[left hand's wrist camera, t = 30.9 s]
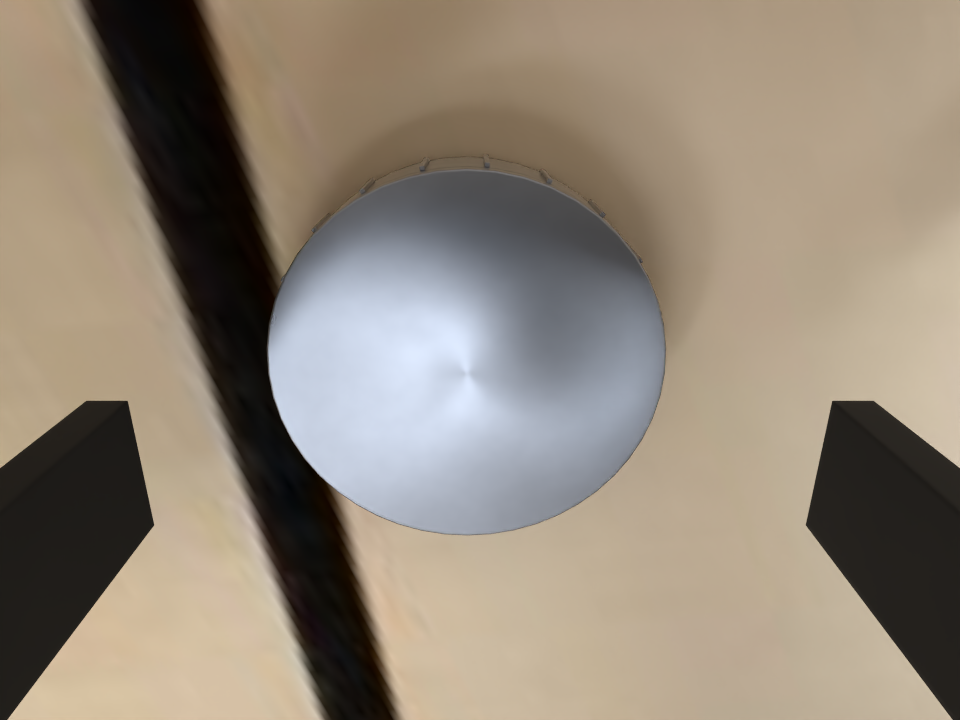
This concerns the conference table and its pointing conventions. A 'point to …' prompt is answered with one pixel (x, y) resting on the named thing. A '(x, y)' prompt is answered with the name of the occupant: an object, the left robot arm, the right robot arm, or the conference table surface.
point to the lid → (466, 347)
